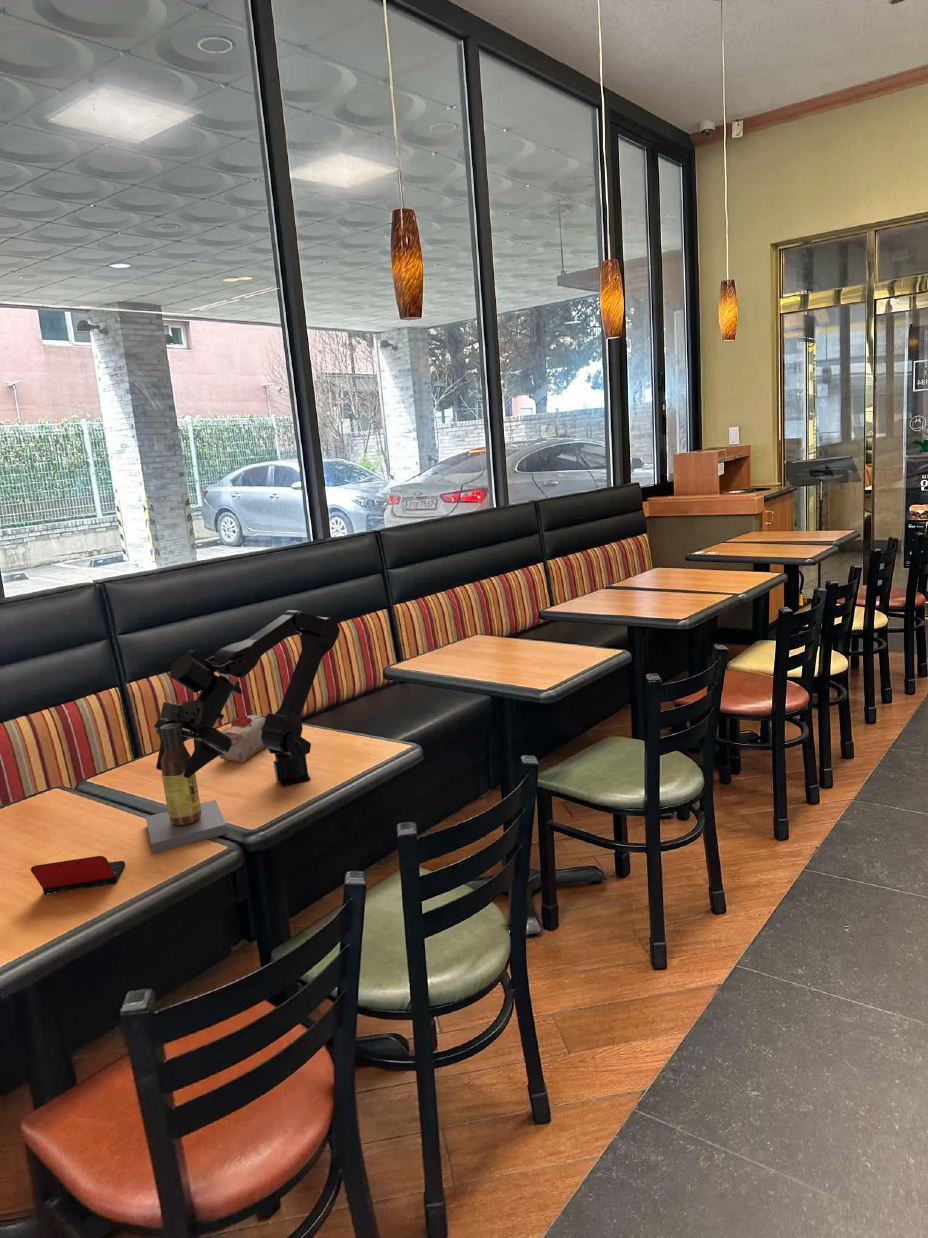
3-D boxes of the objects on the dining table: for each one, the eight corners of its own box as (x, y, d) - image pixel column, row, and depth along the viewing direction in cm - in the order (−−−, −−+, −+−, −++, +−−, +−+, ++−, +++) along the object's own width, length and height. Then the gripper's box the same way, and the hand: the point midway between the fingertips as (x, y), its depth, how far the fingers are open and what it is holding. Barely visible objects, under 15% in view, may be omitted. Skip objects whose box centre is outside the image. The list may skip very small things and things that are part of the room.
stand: (216, 808, 176) (215, 799, 176) (227, 833, 164) (226, 824, 163) (147, 825, 171) (145, 816, 170) (153, 853, 158) (151, 843, 158)
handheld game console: (127, 865, 155) (120, 828, 154) (112, 895, 145) (104, 855, 143) (57, 875, 154) (49, 838, 152) (36, 906, 143) (28, 866, 142)
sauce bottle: (202, 823, 165) (187, 728, 161) (169, 830, 163) (153, 733, 159) (202, 810, 171) (187, 718, 167) (170, 817, 169) (155, 724, 165)
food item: (245, 765, 200) (239, 727, 198) (216, 764, 202) (210, 726, 200) (273, 745, 213) (268, 708, 211) (246, 744, 215) (240, 708, 213)
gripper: (154, 679, 170) (114, 748, 164) (210, 689, 159) (169, 764, 153) (193, 704, 178) (156, 771, 172) (249, 716, 166) (211, 788, 160)
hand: (171, 773), depth 164 cm, fingers open, 9 cm apart
